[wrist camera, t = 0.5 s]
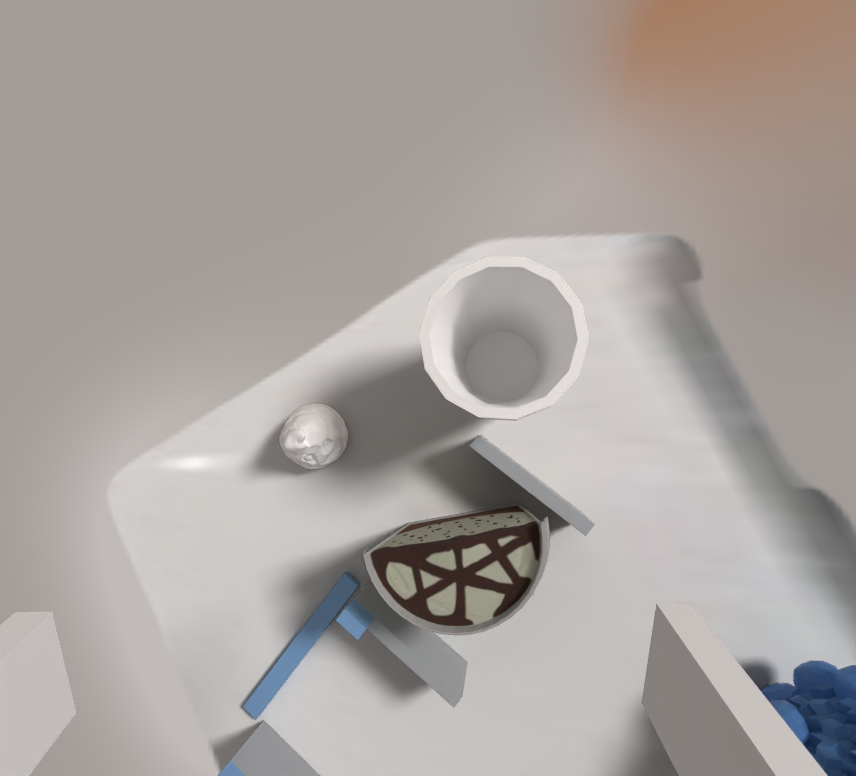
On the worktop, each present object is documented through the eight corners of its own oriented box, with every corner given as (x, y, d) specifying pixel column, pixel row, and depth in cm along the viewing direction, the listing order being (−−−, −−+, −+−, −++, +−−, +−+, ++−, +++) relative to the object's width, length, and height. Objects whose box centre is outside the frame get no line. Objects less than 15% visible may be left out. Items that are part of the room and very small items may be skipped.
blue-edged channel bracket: (582, 512, 38) (600, 530, 31) (346, 819, 38) (312, 904, 31) (461, 420, 40) (453, 417, 33) (239, 712, 40) (185, 769, 33)
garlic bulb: (281, 487, 36) (243, 427, 36) (312, 479, 41) (279, 428, 42) (339, 444, 35) (300, 385, 36) (362, 442, 41) (328, 391, 42)
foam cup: (438, 323, 41) (409, 272, 28) (547, 302, 40) (569, 239, 27) (456, 432, 40) (434, 432, 27) (568, 414, 39) (602, 405, 26)
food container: (404, 601, 39) (372, 657, 29) (390, 525, 40) (354, 556, 30) (555, 577, 38) (574, 629, 28) (537, 499, 38) (550, 522, 29)
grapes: (749, 593, 35) (874, 673, 24) (842, 645, 34) (1021, 757, 22) (674, 732, 35) (762, 882, 24) (765, 789, 34) (904, 976, 22)
